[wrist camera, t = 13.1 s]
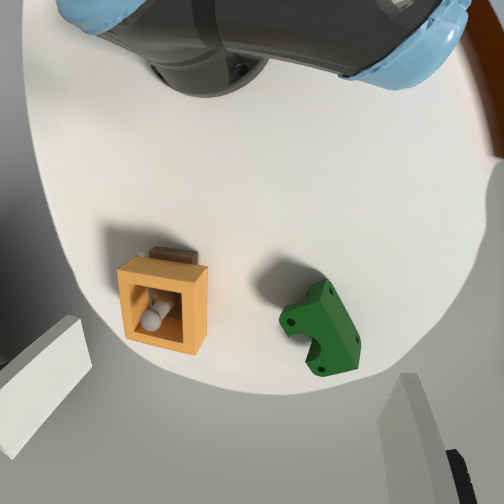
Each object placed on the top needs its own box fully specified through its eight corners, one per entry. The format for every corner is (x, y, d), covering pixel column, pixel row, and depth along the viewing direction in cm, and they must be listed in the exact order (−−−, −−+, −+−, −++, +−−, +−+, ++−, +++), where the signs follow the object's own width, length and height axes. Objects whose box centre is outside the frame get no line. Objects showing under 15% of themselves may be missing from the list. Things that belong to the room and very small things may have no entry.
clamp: (300, 289, 43) (269, 302, 35) (337, 274, 40) (314, 285, 32) (327, 365, 41) (303, 392, 33) (365, 355, 38) (348, 384, 30)
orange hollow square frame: (136, 255, 38) (116, 269, 33) (207, 266, 37) (194, 282, 32) (142, 320, 41) (125, 338, 37) (206, 334, 40) (195, 355, 35)
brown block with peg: (156, 246, 39) (118, 273, 30) (197, 252, 39) (167, 282, 30) (161, 333, 44) (132, 371, 35) (197, 341, 43) (174, 382, 34)
